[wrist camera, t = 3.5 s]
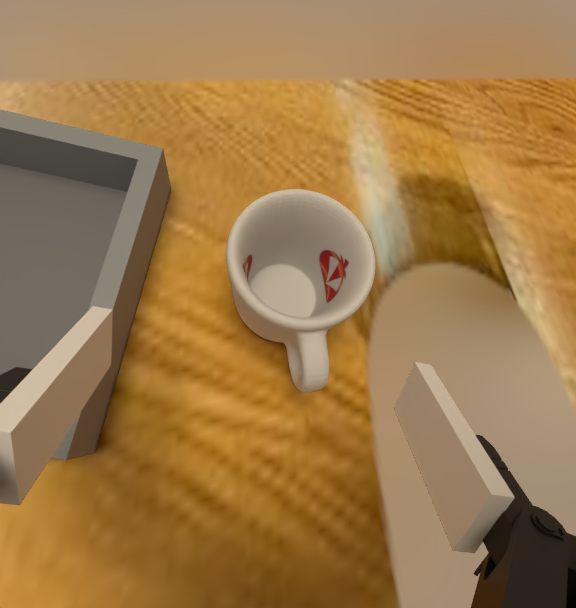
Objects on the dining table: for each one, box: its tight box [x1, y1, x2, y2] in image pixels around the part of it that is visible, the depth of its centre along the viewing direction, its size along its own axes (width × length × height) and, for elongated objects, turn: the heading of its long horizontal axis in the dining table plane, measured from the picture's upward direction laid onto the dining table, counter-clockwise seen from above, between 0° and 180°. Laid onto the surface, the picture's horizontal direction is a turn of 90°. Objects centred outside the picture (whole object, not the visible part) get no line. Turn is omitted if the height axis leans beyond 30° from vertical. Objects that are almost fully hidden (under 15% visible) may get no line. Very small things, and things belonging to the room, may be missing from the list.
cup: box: [226, 189, 375, 392], centre depth 23 cm, size 11×8×8 cm
